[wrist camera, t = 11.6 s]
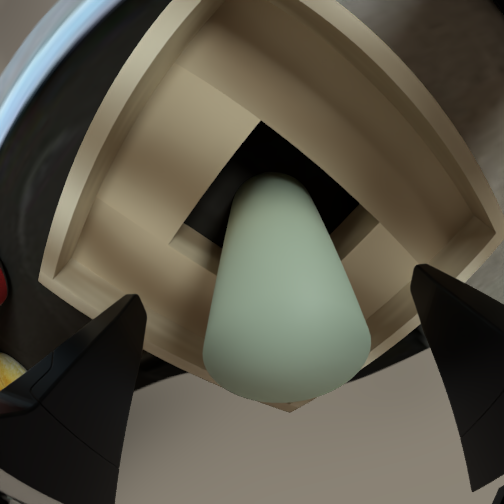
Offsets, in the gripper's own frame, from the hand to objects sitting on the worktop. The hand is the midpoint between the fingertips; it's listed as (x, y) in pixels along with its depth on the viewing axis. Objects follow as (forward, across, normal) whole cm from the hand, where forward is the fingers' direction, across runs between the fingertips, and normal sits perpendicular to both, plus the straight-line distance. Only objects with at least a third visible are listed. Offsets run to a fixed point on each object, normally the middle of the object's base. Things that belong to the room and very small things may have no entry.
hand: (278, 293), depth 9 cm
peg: (+6, 0, 0) cm, 6 cm away
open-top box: (+6, 0, 0) cm, 6 cm away
